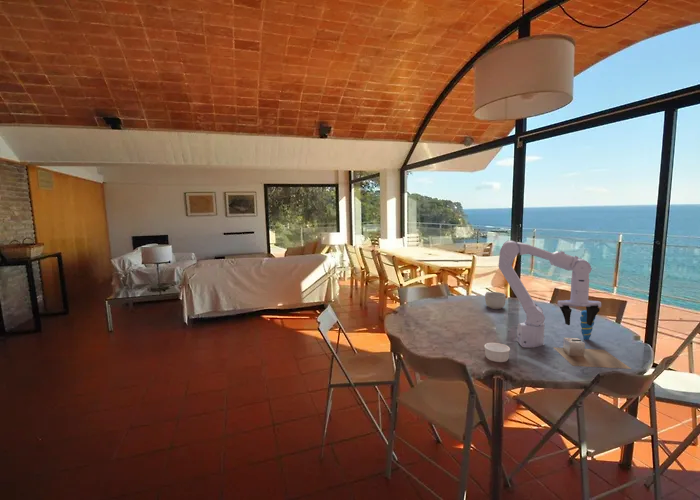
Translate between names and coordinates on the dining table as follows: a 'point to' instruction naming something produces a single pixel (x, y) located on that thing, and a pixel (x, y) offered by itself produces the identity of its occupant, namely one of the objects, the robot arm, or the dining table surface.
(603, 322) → the dining table surface
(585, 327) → the ornament
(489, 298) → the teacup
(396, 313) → the dining table surface
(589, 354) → the board
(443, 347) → the dining table surface
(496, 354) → the ramekin
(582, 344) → the beige cube
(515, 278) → the robot arm
